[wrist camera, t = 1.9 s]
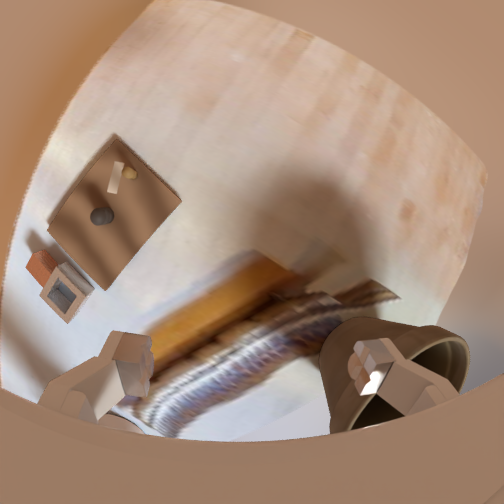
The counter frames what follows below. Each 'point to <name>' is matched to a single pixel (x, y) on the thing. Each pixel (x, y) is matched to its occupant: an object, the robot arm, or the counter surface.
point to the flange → (51, 279)
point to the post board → (127, 221)
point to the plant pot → (409, 345)
